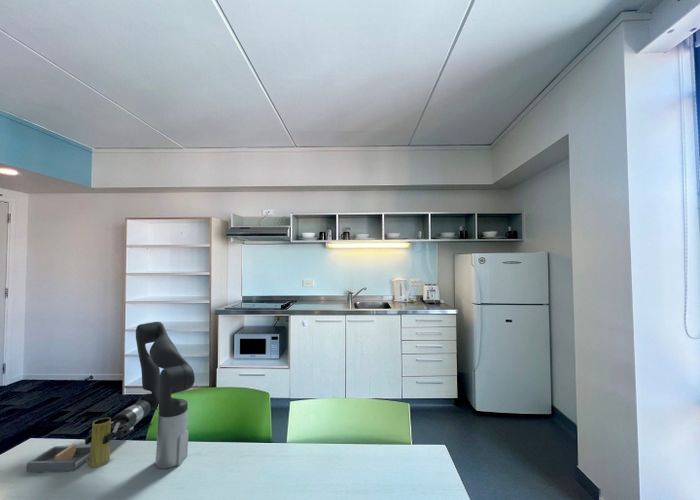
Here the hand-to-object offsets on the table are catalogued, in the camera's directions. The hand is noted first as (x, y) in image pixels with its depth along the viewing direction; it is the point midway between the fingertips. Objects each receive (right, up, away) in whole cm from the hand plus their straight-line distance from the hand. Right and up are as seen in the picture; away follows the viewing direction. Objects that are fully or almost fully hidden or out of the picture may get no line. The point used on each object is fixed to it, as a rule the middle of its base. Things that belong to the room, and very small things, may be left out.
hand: (95, 441), depth 107 cm
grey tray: (-13, -8, +1) cm, 15 cm away
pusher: (-12, -8, +1) cm, 14 cm away
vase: (0, -9, +2) cm, 9 cm away
